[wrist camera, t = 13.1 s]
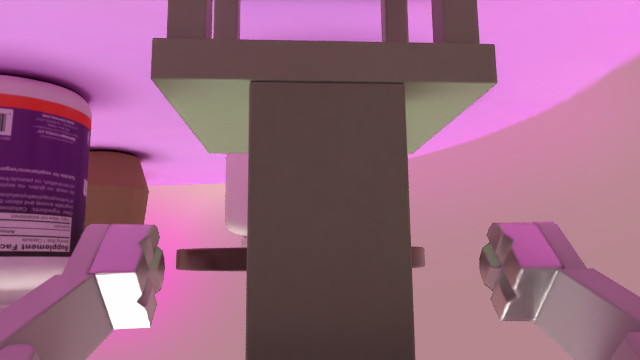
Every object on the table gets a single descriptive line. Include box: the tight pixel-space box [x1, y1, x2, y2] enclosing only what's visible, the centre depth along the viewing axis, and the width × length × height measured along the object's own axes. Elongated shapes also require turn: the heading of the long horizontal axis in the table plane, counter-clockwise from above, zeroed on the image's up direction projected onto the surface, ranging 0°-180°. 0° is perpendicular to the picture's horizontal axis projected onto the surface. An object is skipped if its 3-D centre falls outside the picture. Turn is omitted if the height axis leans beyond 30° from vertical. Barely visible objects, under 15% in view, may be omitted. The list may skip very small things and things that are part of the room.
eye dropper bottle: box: [225, 153, 248, 248], centre depth 49 cm, size 4×6×12 cm
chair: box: [151, 0, 497, 360], centre depth 15 cm, size 8×8×14 cm
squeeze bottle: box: [84, 151, 149, 230], centre depth 49 cm, size 8×8×18 cm
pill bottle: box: [0, 75, 92, 312], centre depth 29 cm, size 8×8×14 cm
